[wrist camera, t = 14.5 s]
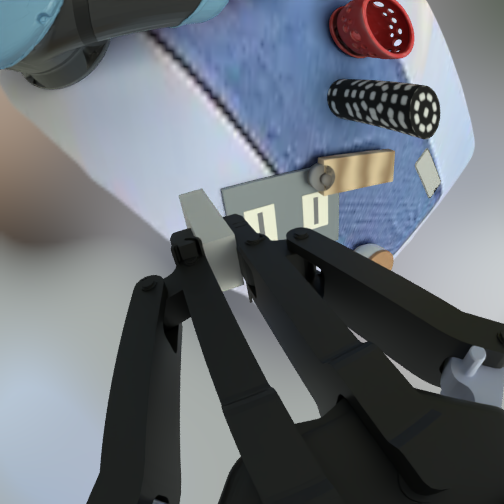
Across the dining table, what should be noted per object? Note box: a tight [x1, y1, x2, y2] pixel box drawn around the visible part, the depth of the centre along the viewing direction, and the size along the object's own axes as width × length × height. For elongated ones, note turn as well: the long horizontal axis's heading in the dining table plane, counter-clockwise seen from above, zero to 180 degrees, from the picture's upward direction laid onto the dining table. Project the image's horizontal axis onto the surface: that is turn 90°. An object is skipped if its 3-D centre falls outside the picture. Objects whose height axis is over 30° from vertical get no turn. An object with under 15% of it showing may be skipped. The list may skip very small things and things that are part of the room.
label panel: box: [221, 167, 339, 241], centre depth 55 cm, size 18×24×2 cm
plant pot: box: [329, 0, 414, 59], centre depth 35 cm, size 13×13×12 cm
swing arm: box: [307, 149, 395, 196], centre depth 52 cm, size 22×7×3 cm, turn 96°
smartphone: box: [415, 148, 441, 198], centre depth 66 cm, size 7×1×15 cm
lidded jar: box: [354, 244, 393, 270], centre depth 66 cm, size 11×11×9 cm
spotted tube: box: [328, 79, 440, 139], centre depth 39 cm, size 8×8×20 cm
